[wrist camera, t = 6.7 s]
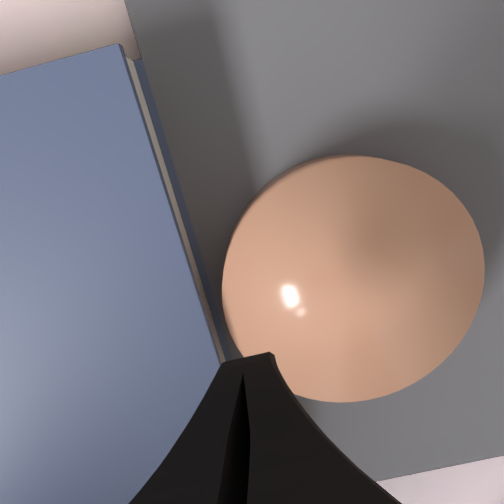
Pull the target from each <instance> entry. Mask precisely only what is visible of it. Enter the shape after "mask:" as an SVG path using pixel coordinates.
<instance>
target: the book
mask: <svg viewBox="0 0 504 504" xmlns="http://www.w3.org/2000/svg"><path fill="white" fill-rule="evenodd" d="M230 360H233V359H232V356H231V352H230V349H229V346H228V342H227V339H226V336H225V333H224V329H223V326H222V323H221V319H220V316H219V313H218V309H217V306H216V303H215V299H214V296H213V293H212V289H211V286H210V283H209V279H208V276H207V273H206V270H205V266H204V263H203V260H202V256H201V253H200V250H199V246H198V243H197V240H196V236H195V233H194V230H193V226H192V223H191V220H190V217H189V213H188V210H187V207H186V203H185V200H184V197H183V193H182V190H181V187H180V183H179V180H178V177H177V173H176V170H175V167H174V163H173V160H172V157H171V154H170V150H169V147H168V144H167V140H166V137H165V134H164V130H163V127H162V124H161V120H160V117H159V114H158V110H157V107H156V104H155V101H154V97H153V94H152V91H151V87H150V84H149V81H148V77H147V74H146V71H145V67H144V64H143V61H142V59H138V60H134V61H132V60H131V59H129V58H127V57H126V56H125V53H124V50H123V47H122V46H121V45H120V44H114V45H110V46H107V47H103V48H99V49H96V50H92V51H88V52H85V53H81V54H77V55H74V56H70V57H66V58H63V59H59V60H55V61H52V62H48V63H44V64H41V65H37V66H33V67H30V68H26V69H22V70H19V71H15V72H11V73H8V74H4V75H0V504H128V503H129V502H130V501H131V500H132V499H133V498H134V497H135V495H136V494H137V493H138V492H139V491H140V490H141V488H142V487H143V486H144V485H145V483H146V482H147V481H148V480H149V478H150V477H151V476H152V475H153V473H154V472H155V471H156V470H157V468H158V467H159V465H160V464H161V463H162V461H163V460H164V459H165V457H166V456H167V454H168V453H169V451H170V450H171V448H172V447H173V445H174V444H175V442H176V441H177V439H178V438H179V436H180V435H181V433H182V432H183V430H184V429H185V427H186V426H187V424H188V422H189V421H190V419H191V417H192V416H193V414H194V412H195V411H196V409H197V407H198V405H199V404H200V402H201V400H202V399H203V397H204V395H205V393H206V391H207V389H208V388H209V386H210V384H211V382H212V380H213V378H214V376H215V374H216V372H217V371H218V369H219V367H220V365H221V364H222V362H226V361H230Z"/></svg>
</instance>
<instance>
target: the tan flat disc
mask: <svg viewBox="0 0 504 504" xmlns="http://www.w3.org/2000/svg"><path fill="white" fill-rule="evenodd" d="M484 274H485V263H484V254H483V247H482V244H481V240H480V236H479V233H478V231H477V228H476V226H475V224H474V221H473V219H472V218H471V216H470V214H469V213H468V211H467V210H466V208H465V206H464V205H463V204H462V203H461V202H460V200H459V199H458V198H457V197H456V196H455V195H454V193H453V192H451V191H450V190H449V189H448V188H447V187H445V186H444V185H443V184H442V183H441V182H440V181H438V180H436V179H435V178H433V177H431V176H430V175H428V174H426V173H425V172H422V171H420V170H418V169H415V168H413V167H411V166H408V165H405V164H401V163H397V162H393V161H389V160H385V159H381V158H377V157H373V156H367V155H359V154H337V155H330V156H324V157H319V158H316V159H312V160H309V161H305V162H303V163H301V164H299V165H296V166H294V167H292V168H290V169H288V170H286V171H285V172H283V173H281V174H280V175H278V176H276V177H275V178H274V179H272V180H271V181H270V182H269V183H267V184H266V185H265V186H264V187H262V188H261V190H260V191H259V192H258V193H257V194H256V195H255V196H254V197H253V198H252V199H251V200H250V202H249V203H248V204H247V206H246V207H245V208H244V210H243V211H242V213H241V214H240V216H239V218H238V220H237V222H236V223H235V225H234V228H233V230H232V233H231V235H230V238H229V241H228V245H227V250H226V254H225V262H224V270H223V280H222V305H223V310H224V315H225V320H226V323H227V326H228V329H229V332H230V335H231V336H232V338H233V340H234V342H235V344H236V346H237V348H238V349H239V351H240V352H241V354H242V355H243V356H244V357H248V356H252V355H256V354H261V353H265V352H271V353H272V354H274V355H275V359H276V363H277V366H278V368H279V370H280V373H281V374H282V376H283V378H284V380H285V382H286V383H287V385H288V387H289V388H290V390H291V391H292V392H293V394H296V395H299V396H302V397H305V398H308V399H314V400H319V401H325V402H338V403H339V402H357V401H364V400H370V399H374V398H378V397H382V396H386V395H388V394H391V393H394V392H397V391H399V390H401V389H403V388H405V387H407V386H409V385H411V384H414V383H415V382H417V381H418V380H420V379H421V378H423V377H425V376H426V375H428V374H429V373H430V372H431V371H433V370H434V369H435V368H436V367H438V366H439V365H440V364H441V363H442V362H443V361H444V360H445V359H446V358H447V357H448V356H449V355H450V354H451V353H452V352H453V351H454V349H455V348H456V347H457V346H458V344H459V343H460V342H461V341H462V339H463V337H464V336H465V334H466V332H467V331H468V329H469V328H470V326H471V324H472V321H473V319H474V317H475V315H476V313H477V310H478V307H479V303H480V300H481V297H482V291H483V286H484Z"/></svg>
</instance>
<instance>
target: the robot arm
mask: <svg viewBox="0 0 504 504" xmlns="http://www.w3.org/2000/svg"><path fill="white" fill-rule="evenodd" d="M128 504H402V503H400V502H399V501H398V500H396V499H395V498H394V497H393V496H392V495H390V494H389V493H388V492H387V491H386V490H384V489H383V488H382V487H381V486H380V485H378V484H377V483H376V482H375V481H374V480H373V479H371V478H370V477H369V476H368V475H367V474H365V473H364V472H363V471H362V470H361V469H360V468H358V467H357V466H356V465H355V464H354V463H353V462H352V461H351V460H350V459H349V458H348V457H347V456H346V455H345V454H344V453H343V452H342V451H341V450H340V449H339V448H338V447H337V446H336V445H335V444H334V443H333V442H332V441H331V440H330V439H329V438H328V437H327V436H326V435H325V433H324V432H323V431H322V430H321V429H320V428H319V427H318V425H317V424H316V423H315V422H314V421H313V419H312V418H311V417H310V416H309V414H308V413H307V412H306V411H305V409H304V408H303V407H302V405H301V404H300V403H299V401H298V400H297V398H296V397H295V395H294V394H293V392H292V391H291V390H290V388H289V387H288V385H287V383H286V382H285V380H284V378H283V376H282V374H281V373H280V370H279V368H278V366H277V363H276V359H275V355H274V354H272V353H271V352H265V353H261V354H256V355H252V356H248V357H243V358H239V359H235V360H230V361H226V362H222V364H221V365H220V367H219V369H218V371H217V372H216V374H215V376H214V378H213V380H212V382H211V384H210V386H209V388H208V389H207V391H206V393H205V395H204V397H203V399H202V400H201V402H200V404H199V405H198V407H197V409H196V411H195V412H194V414H193V416H192V417H191V419H190V421H189V422H188V424H187V426H186V427H185V429H184V430H183V432H182V433H181V435H180V436H179V438H178V439H177V441H176V442H175V444H174V445H173V447H172V448H171V450H170V451H169V453H168V454H167V456H166V457H165V459H164V460H163V461H162V463H161V464H160V465H159V467H158V468H157V470H156V471H155V472H154V473H153V475H152V476H151V477H150V478H149V480H148V481H147V482H146V483H145V485H144V486H143V487H142V488H141V490H140V491H139V492H138V493H137V494H136V495H135V497H134V498H133V499H132V500H131V501H130V502H129V503H128Z"/></svg>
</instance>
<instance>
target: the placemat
mask: <svg viewBox="0 0 504 504" xmlns="http://www.w3.org/2000/svg"><path fill="white" fill-rule="evenodd" d="M124 1H125V4H126V8H127V11H128V14H129V18H130V21H131V24H132V28H133V31H134V34H135V38H136V41H137V44H138V47H139V51H140V54H141V57H142V61H143V64H144V67H145V71H146V74H147V77H148V81H149V84H150V87H151V91H152V94H153V97H154V101H155V104H156V107H157V110H158V114H159V117H160V120H161V124H162V127H163V130H164V134H165V137H166V140H167V144H168V147H169V150H170V154H171V157H172V160H173V163H174V167H175V170H176V173H177V177H178V180H179V183H180V187H181V190H182V193H183V197H184V200H185V203H186V207H187V210H188V213H189V217H190V220H191V223H192V226H193V230H194V233H195V236H196V240H197V243H198V246H199V250H200V253H201V256H202V260H203V263H204V266H205V270H206V273H207V276H208V279H209V283H210V286H211V289H212V293H213V296H214V299H215V303H216V306H217V309H218V313H219V316H220V319H221V323H222V326H223V329H224V333H225V336H226V339H227V342H228V346H229V349H230V352H231V356H232V359H233V360H235V359H239V358H243V357H244V356H243V355H242V354H241V352H240V351H239V349H238V348H237V346H236V344H235V342H234V340H233V338H232V336H231V335H230V332H229V329H228V326H227V323H226V320H225V315H224V310H223V305H222V280H223V270H224V262H225V254H226V250H227V245H228V241H229V238H230V235H231V233H232V230H233V228H234V225H235V223H236V222H237V220H238V218H239V216H240V214H241V213H242V211H243V210H244V208H245V207H246V206H247V204H248V203H249V202H250V200H251V199H252V198H253V197H254V196H255V195H256V194H257V193H258V192H259V191H260V190H261V188H262V187H264V186H265V185H266V184H267V183H269V182H270V181H271V180H272V179H274V178H275V177H276V176H278V175H280V174H281V173H283V172H285V171H286V170H288V169H290V168H292V167H294V166H296V165H299V164H301V163H303V162H305V161H309V160H312V159H316V158H319V157H324V156H330V155H337V154H359V155H367V156H373V157H377V158H381V159H385V160H389V161H393V162H397V163H401V164H405V165H408V166H411V167H413V168H415V169H418V170H420V171H422V172H425V173H426V174H428V175H430V176H431V177H433V178H435V179H436V180H438V181H440V182H441V183H442V184H443V185H444V186H445V187H447V188H448V189H449V190H450V191H451V192H453V193H454V195H455V196H456V197H457V198H458V199H459V200H460V202H461V203H462V204H463V205H464V206H465V208H466V210H467V211H468V213H469V214H470V216H471V218H472V219H473V221H474V224H475V226H476V228H477V231H478V233H479V236H480V240H481V244H482V247H483V254H484V263H485V274H484V286H483V291H482V297H481V300H480V303H479V307H478V310H477V313H476V315H475V317H474V319H473V321H472V324H471V326H470V328H469V329H468V331H467V332H466V334H465V336H464V337H463V339H462V341H461V342H460V343H459V344H458V346H457V347H456V348H455V349H454V351H453V352H452V353H451V354H450V355H449V356H448V357H447V358H446V359H445V360H444V361H443V362H442V363H441V364H440V365H439V366H438V367H436V368H435V369H434V370H433V371H431V372H430V373H429V374H428V375H426V376H425V377H423V378H421V379H420V380H418V381H417V382H415V383H414V384H411V385H409V386H407V387H405V388H403V389H401V390H399V391H397V392H394V393H391V394H388V395H386V396H382V397H378V398H374V399H370V400H364V401H357V402H339V403H338V402H325V401H319V400H314V399H308V398H305V397H302V396H299V395H296V394H294V395H295V397H296V398H297V400H298V401H299V403H300V404H301V405H302V407H303V408H304V409H305V411H306V412H307V413H308V414H309V416H310V417H311V418H312V419H313V421H314V422H315V423H316V424H317V425H318V427H319V428H320V429H321V430H322V431H323V432H324V433H325V435H326V436H327V437H328V438H329V439H330V440H331V441H332V442H333V443H334V444H335V445H336V446H337V447H338V448H339V449H340V450H341V451H342V452H343V453H344V454H345V455H346V456H347V457H348V458H349V459H350V460H351V461H352V462H353V463H354V464H355V465H356V466H357V467H358V468H360V469H361V470H362V471H363V472H364V473H365V474H367V475H368V476H369V477H370V478H371V479H373V480H374V481H375V482H376V481H381V480H386V479H391V478H396V477H401V476H406V475H411V474H415V473H420V472H425V471H430V470H435V469H440V468H445V467H450V466H455V465H459V464H464V463H469V462H474V461H479V460H484V459H489V458H494V457H499V456H504V0H124Z"/></svg>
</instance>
